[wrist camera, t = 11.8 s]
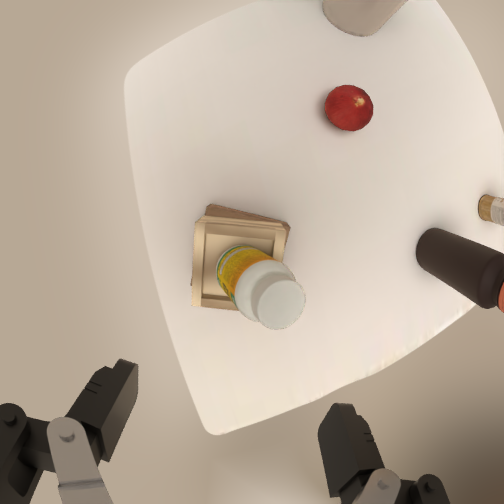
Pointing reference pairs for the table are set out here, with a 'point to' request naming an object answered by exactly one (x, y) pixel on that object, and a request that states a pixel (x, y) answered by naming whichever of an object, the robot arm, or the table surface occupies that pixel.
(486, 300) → the vinegar
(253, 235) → the tower top
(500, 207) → the sprinkles bottle
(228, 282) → the supplement bottle
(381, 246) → the table surface
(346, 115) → the onion
